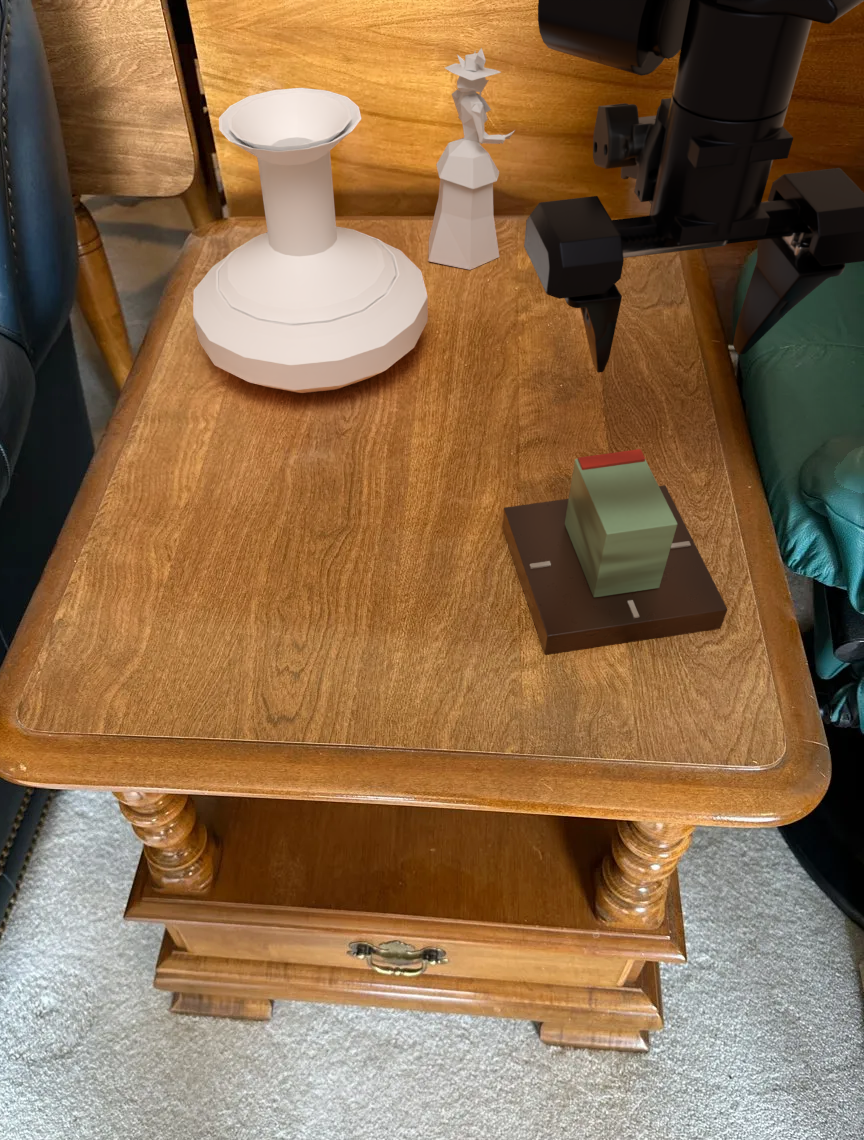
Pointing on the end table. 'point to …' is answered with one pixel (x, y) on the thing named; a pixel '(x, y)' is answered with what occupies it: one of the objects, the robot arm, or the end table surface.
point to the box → (619, 523)
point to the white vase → (305, 262)
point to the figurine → (467, 177)
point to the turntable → (591, 621)
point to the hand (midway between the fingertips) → (668, 359)
